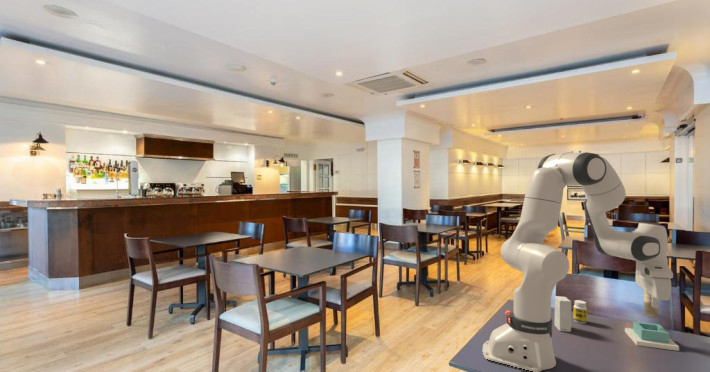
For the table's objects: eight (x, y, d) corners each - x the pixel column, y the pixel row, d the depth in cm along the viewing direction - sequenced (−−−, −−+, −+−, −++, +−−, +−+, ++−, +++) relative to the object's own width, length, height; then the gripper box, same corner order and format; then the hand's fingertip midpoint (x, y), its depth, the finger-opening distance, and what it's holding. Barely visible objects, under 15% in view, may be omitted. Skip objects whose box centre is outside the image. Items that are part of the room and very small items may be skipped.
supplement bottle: (574, 323, 146) (574, 302, 146) (572, 318, 151) (572, 299, 150) (588, 324, 145) (588, 304, 144) (585, 320, 149) (585, 300, 149)
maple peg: (646, 316, 129) (646, 289, 129) (642, 312, 133) (642, 286, 132) (660, 318, 127) (660, 290, 127) (655, 314, 131) (655, 287, 131)
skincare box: (571, 332, 138) (571, 301, 137) (559, 331, 139) (559, 300, 138) (565, 325, 144) (565, 296, 143) (554, 325, 144) (554, 295, 144)
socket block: (636, 345, 127) (636, 331, 127) (624, 331, 138) (625, 318, 138) (679, 350, 122) (679, 336, 122) (663, 336, 134) (663, 323, 133)
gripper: (630, 259, 140) (630, 294, 141) (652, 273, 121) (652, 313, 122) (650, 261, 138) (649, 296, 138) (675, 274, 119) (675, 315, 119)
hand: (651, 304), depth 130 cm, fingers closed on maple peg, 4 cm apart
